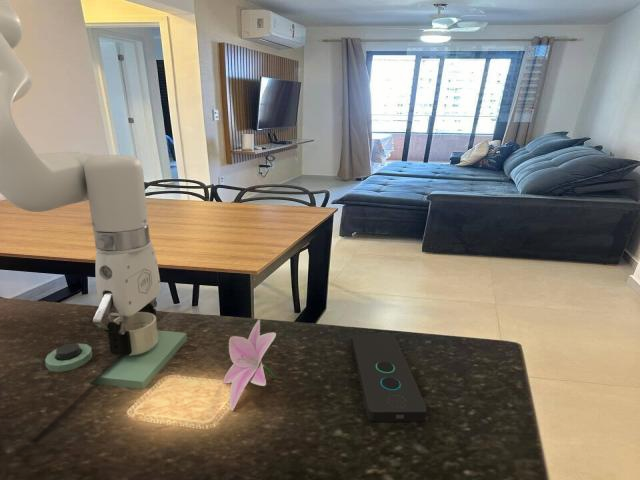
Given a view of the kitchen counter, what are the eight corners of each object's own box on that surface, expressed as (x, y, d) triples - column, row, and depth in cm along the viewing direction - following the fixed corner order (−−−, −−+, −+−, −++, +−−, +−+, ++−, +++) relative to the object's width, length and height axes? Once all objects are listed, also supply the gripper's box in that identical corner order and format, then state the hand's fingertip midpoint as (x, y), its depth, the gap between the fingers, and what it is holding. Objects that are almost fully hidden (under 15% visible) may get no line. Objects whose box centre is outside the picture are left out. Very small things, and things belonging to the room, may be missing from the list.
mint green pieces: (39, 380, 57) (35, 363, 56) (103, 331, 71) (100, 317, 70) (142, 391, 55) (140, 374, 54) (187, 339, 69) (186, 324, 68)
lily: (236, 362, 65) (206, 327, 59) (300, 341, 63) (276, 302, 58) (229, 431, 55) (193, 397, 49) (305, 408, 53) (276, 369, 48)
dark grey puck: (52, 360, 58) (51, 352, 57) (67, 349, 60) (66, 342, 60) (70, 362, 57) (69, 354, 57) (85, 351, 60) (83, 343, 60)
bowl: (103, 355, 61) (100, 330, 59) (129, 333, 67) (126, 310, 66) (144, 359, 60) (141, 333, 59) (165, 336, 66) (163, 313, 65)
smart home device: (368, 411, 50) (350, 333, 70) (367, 422, 51) (350, 341, 70) (429, 411, 51) (395, 333, 70) (428, 421, 51) (394, 341, 70)
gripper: (108, 257, 50) (125, 375, 55) (173, 225, 66) (181, 318, 71) (56, 253, 50) (76, 370, 55) (133, 223, 67) (143, 314, 72)
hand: (135, 340), depth 63 cm, fingers closed on bowl, 6 cm apart
